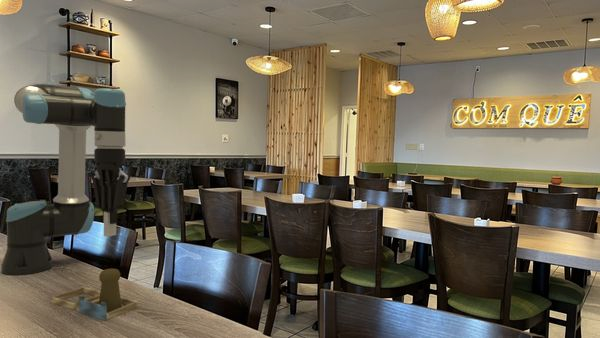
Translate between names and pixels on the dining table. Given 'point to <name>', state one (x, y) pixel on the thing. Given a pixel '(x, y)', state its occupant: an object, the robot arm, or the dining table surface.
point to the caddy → (92, 304)
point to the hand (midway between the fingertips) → (110, 235)
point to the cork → (110, 289)
